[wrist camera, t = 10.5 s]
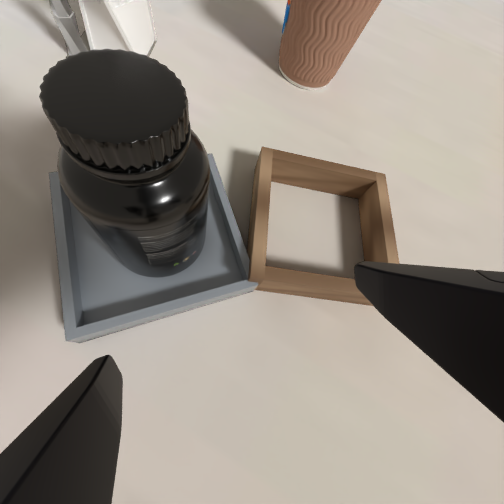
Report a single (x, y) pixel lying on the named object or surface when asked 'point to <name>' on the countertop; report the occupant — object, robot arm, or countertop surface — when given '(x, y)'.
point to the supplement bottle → (130, 157)
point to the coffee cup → (320, 38)
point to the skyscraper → (107, 25)
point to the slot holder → (326, 180)
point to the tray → (136, 286)
